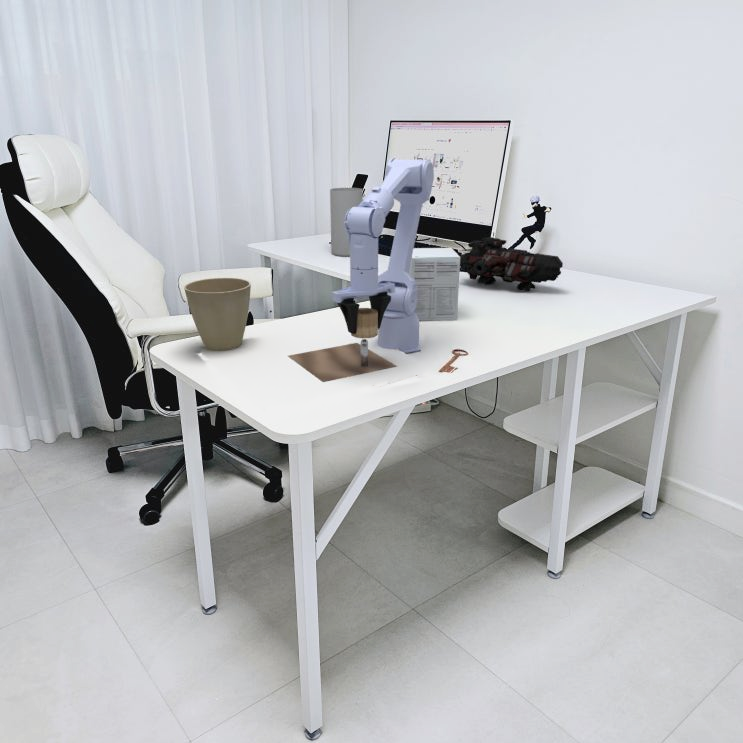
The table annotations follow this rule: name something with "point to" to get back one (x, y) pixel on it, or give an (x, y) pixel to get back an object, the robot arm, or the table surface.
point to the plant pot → (219, 310)
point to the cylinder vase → (342, 217)
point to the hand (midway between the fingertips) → (364, 330)
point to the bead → (366, 323)
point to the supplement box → (436, 283)
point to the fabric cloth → (339, 362)
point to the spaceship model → (508, 264)
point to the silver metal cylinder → (364, 353)
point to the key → (449, 368)
